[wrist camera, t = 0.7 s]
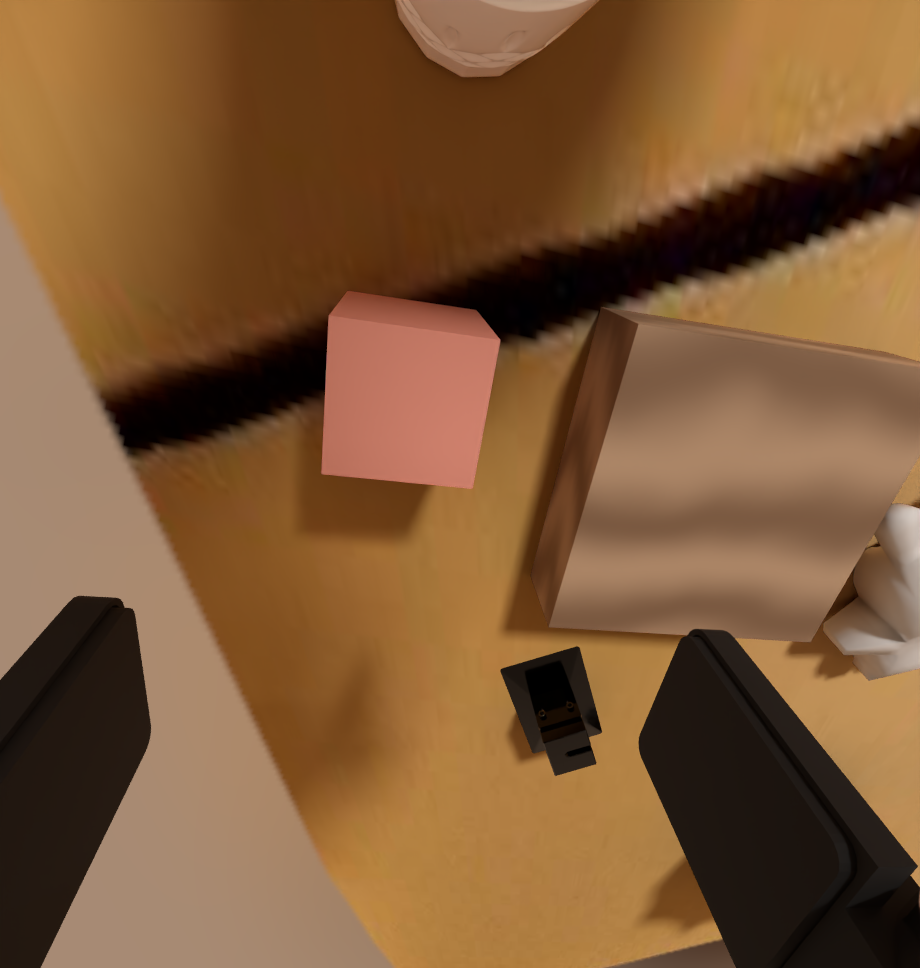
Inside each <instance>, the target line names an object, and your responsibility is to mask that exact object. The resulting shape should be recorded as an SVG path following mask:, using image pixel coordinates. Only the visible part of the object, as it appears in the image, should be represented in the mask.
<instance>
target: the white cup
mask: <svg viewBox="0 0 920 968" xmlns="http://www.w3.org/2000/svg"><path fill="white" fill-rule="evenodd" d="M598 1H599V0H395V4H396V8H397V12H398V16H399V19H400V20H401V22H402V23H403V24H404V26H405V27H406V29H407V30H408V32H409V33H410V34H411V36H412V37H413V39H414V40H415V42H416V43H417V45H418V46H419V47H420V49H421V50H422V52H423V53H424V55H425V56H426V57H427V58H429V59H430V60H432V61H434V62H436V63H438V64H439V65H441V66H443V67H445V68H446V69H448V70H450V71H452V72H453V73H455V74H457V75H459V76H461V77H490V76H501V75H503V74H504V73H506V72H507V71H509V70H511V69H512V68H514V67H515V66H517V65H518V64H520V63H522V62H523V61H525V60H526V59H528V58H530V57H532V56H533V55H535V54H537V53H538V52H539V51H541V50H542V49H544V48H545V47H546V46H547V45H549V44H550V43H551V42H552V41H554V40H555V39H556V38H558V37H559V36H560V35H561V34H563V33H564V32H565V31H566V30H567V29H569V28H570V27H571V26H572V25H573V24H574V23H575V22H576V21H577V20H579V19H580V18H581V17H582V16H583V15H584V14H585V13H586V12H587V11H588V10H589V9H590V8H592V7H593V6H594V5H595V4H596V3H597V2H598Z"/></svg>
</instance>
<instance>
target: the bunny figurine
mask: <svg viewBox="0 0 920 968" xmlns="http://www.w3.org/2000/svg"><path fill="white" fill-rule="evenodd" d="M874 535H875V537H876V539H877V540H878V542H879V544H880V546H879V547H871V548H868V549H866V550H865V551H864V552H863V553H862V555H861V557H860V559H859V560H858V562H857V564H856V565H855V569H854V572H853V583H854V586H855V588H856V591H857V594H858V597H857V598H856V599H855V600H853V601H852V602H851V603H850V604H849V605H847V606H846V607H845V608H843V609H842V610H840V611H839V612H838V613H836V614H835V615H834V616H832V617H831V618H830V619H828V620H827V621H826V622H824V623H823V632H824V633H825V634H826V635H827V636H828V638H829V639H830V640H831V641H832V642H833V643H834V644H835V646H836V647H837V648H838V649H839V650H840V651H841V652H842V653H843V655H853V656H854V659H853V664H854V665H855V666H856V667H857V668H858V669H859V670H860V671H861V673H862V674H863V675H864V676H865V677H866V678H867V679H868V680H874V679H878V678H883V677H887V676H891V675H895V674H899V673H904V672H908V671H912V670H916V669H920V509H919V508H916V507H913V506H910V505H907V504H901V503H896V504H891V506H890V507H889V509H888V511H887V512H886V514H885V516H884V518H883V519H882V521H881V523H880V524H879V526H878V528H877V530H876V531H875V533H874Z"/></svg>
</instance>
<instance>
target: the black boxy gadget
mask: <svg viewBox="0 0 920 968" xmlns="http://www.w3.org/2000/svg"><path fill="white" fill-rule="evenodd" d="M500 671H501V674H502V676H503V679H504V681H505V684H506V687H507V689H508V692H509V694H510V697H511V699H512V702H513V704H514V707H515V709H516V712H517V714H518V717H519V720H520V722H521V725H522V727H523V730H524V732H525V735H526V737H527V740H528V742H529V745H530V747H531V750H532V752H533V753H537V752H541V751H544V750H546V753H547V755H548V758H549V761H550V764H551V766H552V769H553V772H554V775H555V776H557V775H560V774H564V773H567V772H571V771H574V770H577V769H581V768H584V767H588V766H591V765H595V764H596V760H595V757H594V754H593V750H592V748H591V744H590V740H589V737H591V736H594V735H597V734H600V733H602V730H601V726H600V722H599V719H598V715H597V711H596V707H595V704H594V700H593V696H592V693H591V689H590V685H589V681H588V678H587V674H586V670H585V667H584V663H583V659H582V655H581V652H580V648H579V647H573V648H570V649H567V650H563V651H560V652H557V653H553V654H550V655H546V656H543V657H540V658H536V659H533V660H529V661H526V662H523V663H519V664H516V665H512V666H509V667H506V668H502V669H501V670H500Z"/></svg>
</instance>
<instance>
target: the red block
mask: <svg viewBox="0 0 920 968" xmlns="http://www.w3.org/2000/svg"><path fill="white" fill-rule="evenodd" d="M499 345H500V339H499V338H498V336H497V335H496V334H495V333H494V331H493V330H492V329H491V328H490V326H489V325H488V324H487V323H486V321H485V320H484V319H483V318H482V317H481V315H480V314H479V313H478V312H477V310H473V309H466V308H460V307H453V306H446V305H440V304H433V303H427V302H420V301H413V300H407V299H400V298H394V297H387V296H380V295H374V294H367V293H360V292H354V291H347V292H346V293H345V295H344V296H343V297H342V299H341V300H340V301H339V303H338V304H337V305H336V307H335V308H334V309H333V311H332V312H331V313H330V314H329V320H328V341H327V363H326V384H325V406H324V427H323V449H322V470H321V474H325V475H335V476H346V477H356V478H366V479H377V480H387V481H397V482H407V483H418V484H428V485H438V486H449V487H459V488H469V489H473V484H474V479H475V473H476V468H477V463H478V457H479V452H480V447H481V441H482V436H483V431H484V425H485V420H486V415H487V409H488V404H489V399H490V393H491V388H492V383H493V377H494V372H495V367H496V361H497V356H498V351H499Z"/></svg>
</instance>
